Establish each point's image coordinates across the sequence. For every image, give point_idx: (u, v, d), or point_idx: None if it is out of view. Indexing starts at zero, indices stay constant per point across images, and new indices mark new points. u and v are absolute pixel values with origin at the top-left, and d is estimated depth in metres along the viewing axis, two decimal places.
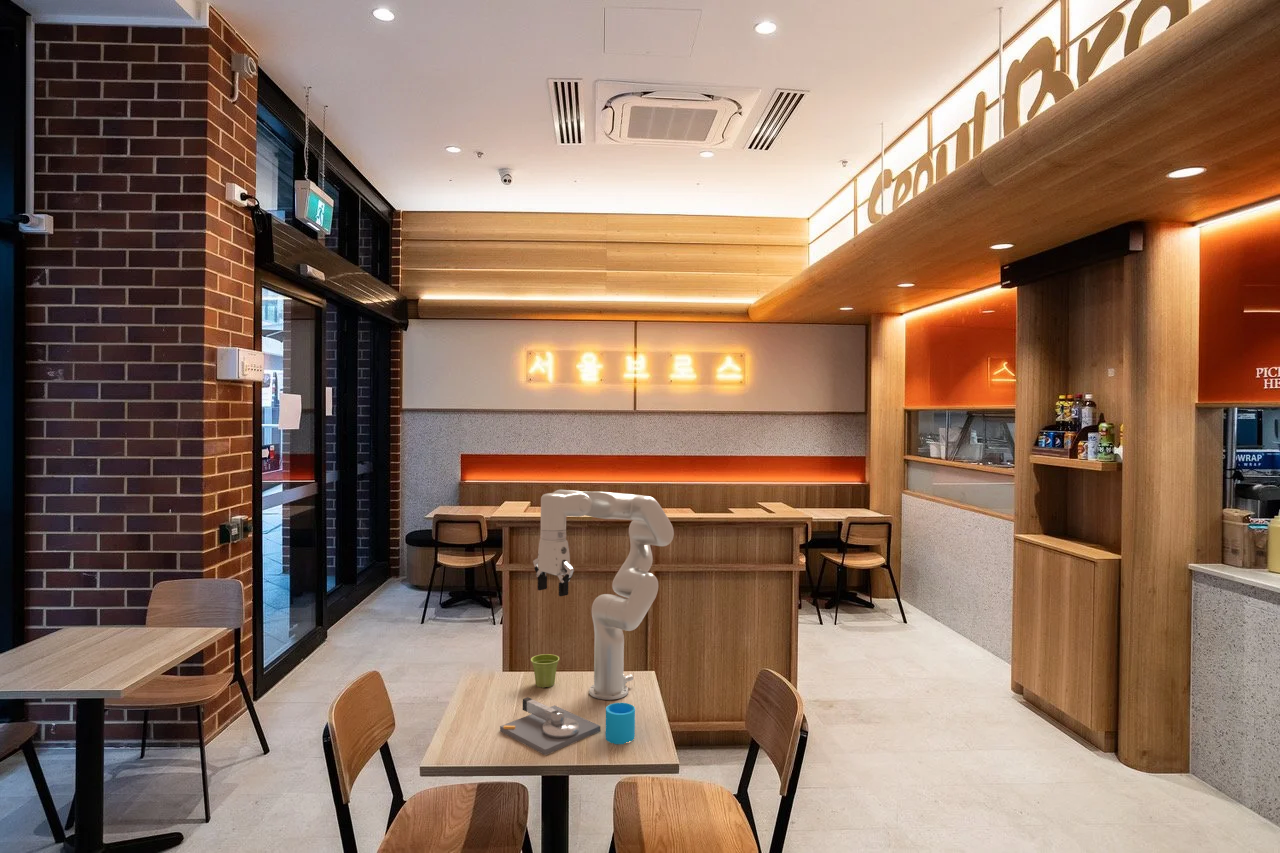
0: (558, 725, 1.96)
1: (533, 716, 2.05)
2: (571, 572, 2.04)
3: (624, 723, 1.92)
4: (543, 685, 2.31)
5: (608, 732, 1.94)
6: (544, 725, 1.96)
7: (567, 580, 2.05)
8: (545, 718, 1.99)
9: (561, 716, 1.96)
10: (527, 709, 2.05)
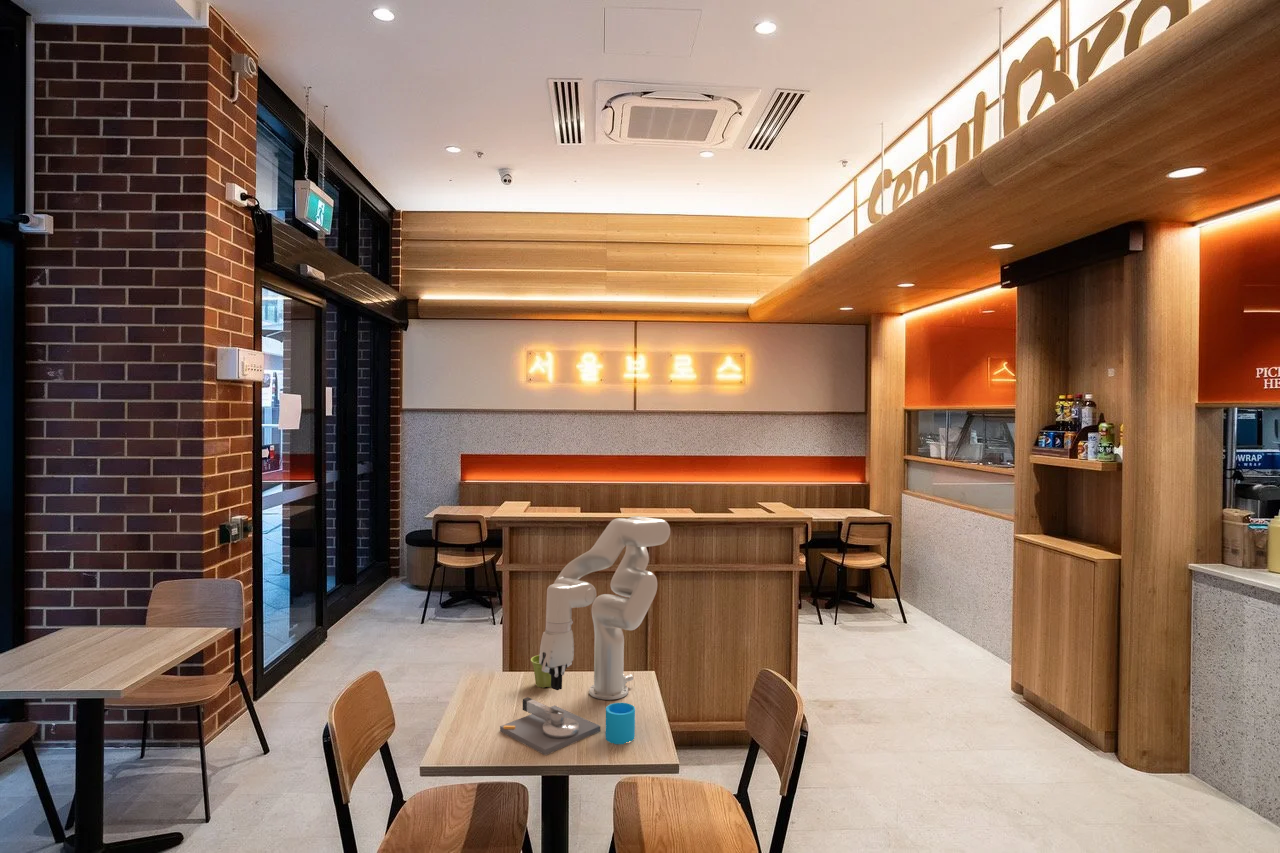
0: (558, 725, 1.96)
1: (533, 716, 2.05)
2: None
3: (624, 723, 1.92)
4: (543, 685, 2.31)
5: (608, 732, 1.94)
6: (544, 725, 1.96)
7: None
8: (545, 718, 1.99)
9: (561, 716, 1.96)
10: (527, 709, 2.05)
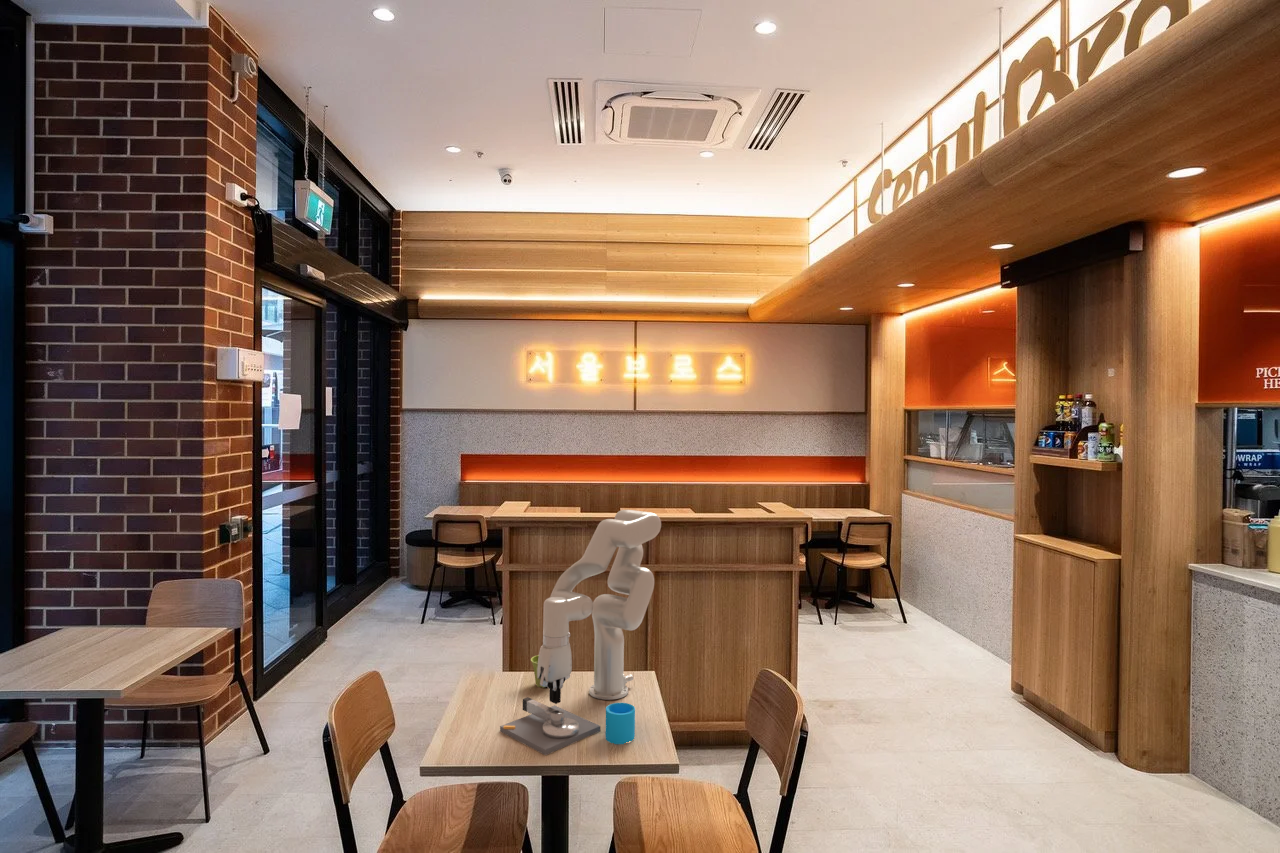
0: (558, 725, 1.96)
1: (533, 716, 2.05)
2: None
3: (624, 723, 1.92)
4: None
5: (608, 732, 1.94)
6: (544, 725, 1.96)
7: None
8: (545, 718, 1.99)
9: (561, 716, 1.96)
10: (527, 709, 2.05)
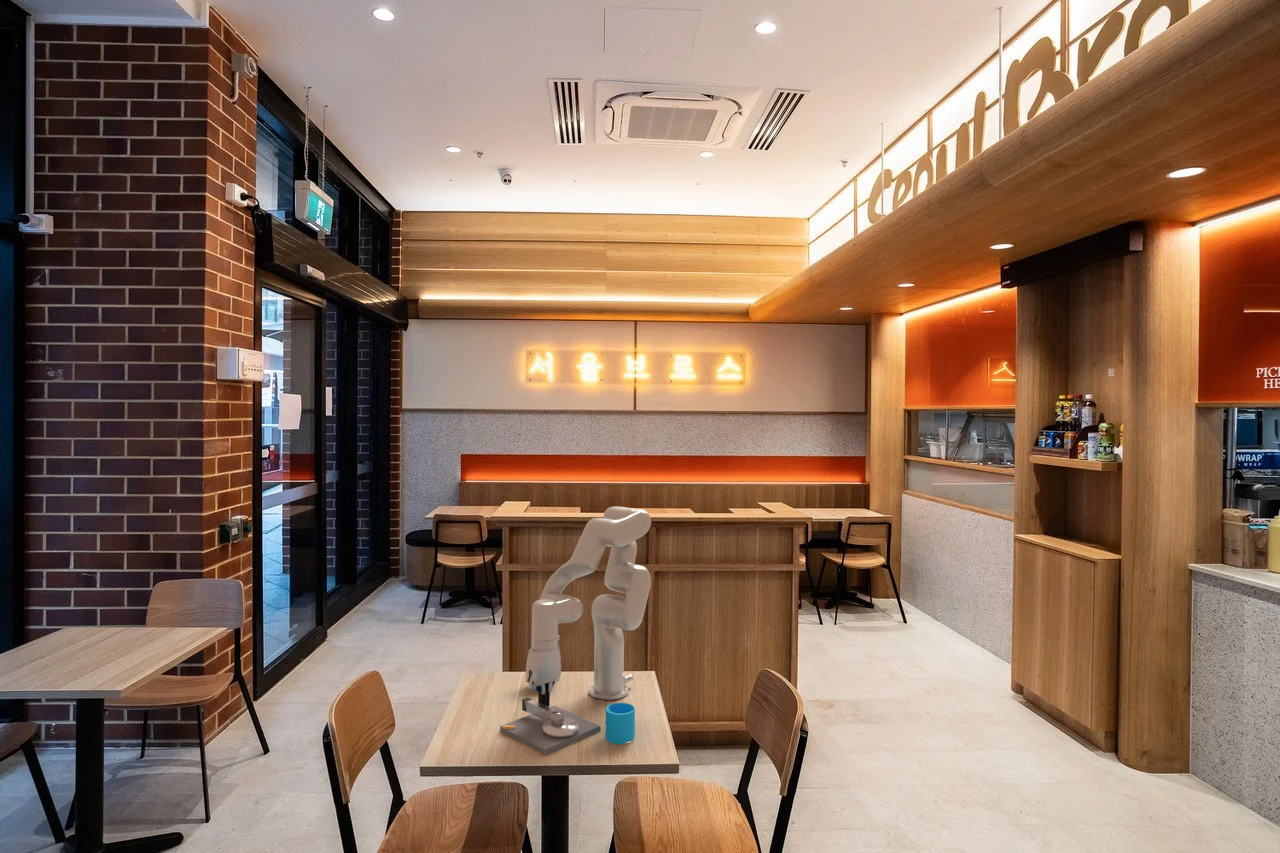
0: (558, 725, 1.96)
1: (533, 716, 2.05)
2: None
3: (624, 723, 1.92)
4: None
5: (608, 732, 1.94)
6: (544, 725, 1.96)
7: None
8: (545, 718, 1.99)
9: (561, 716, 1.96)
10: (527, 709, 2.05)
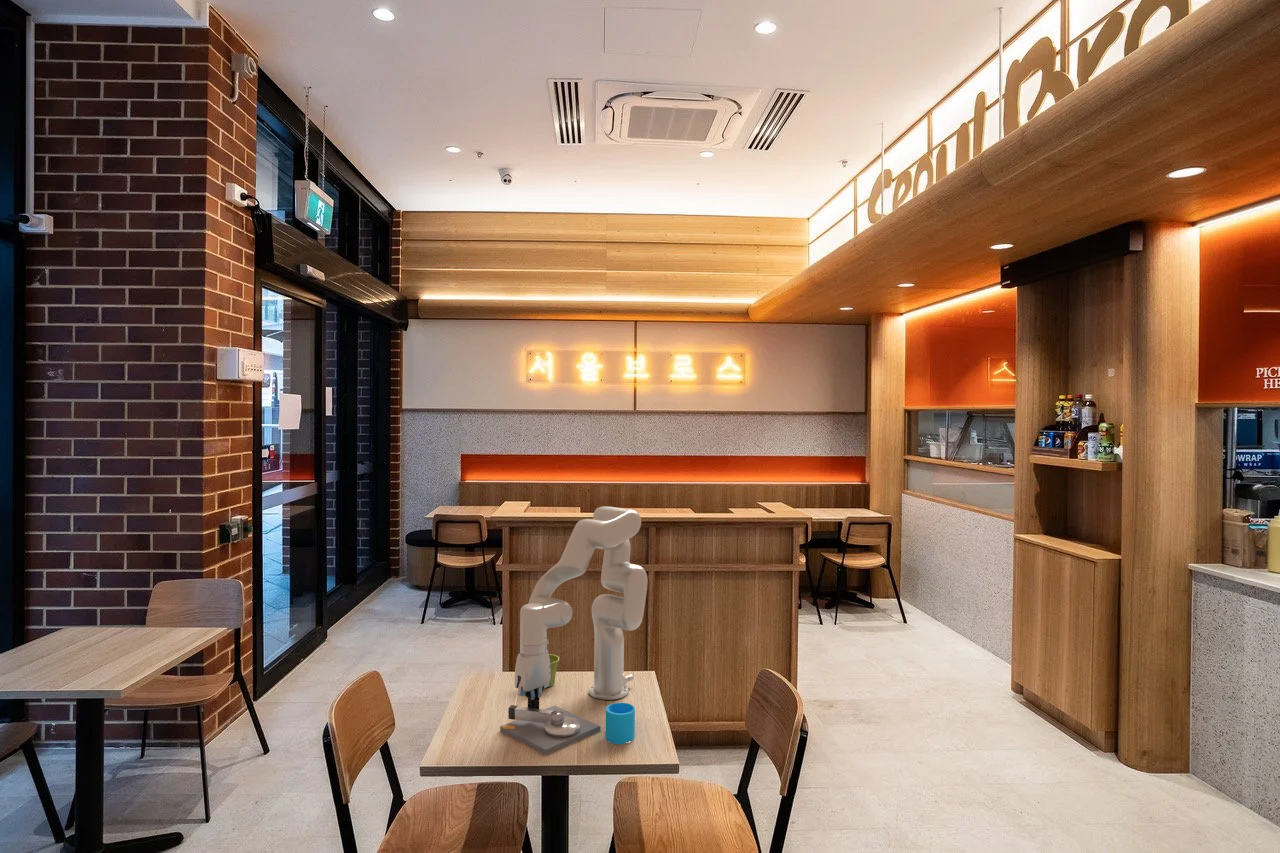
0: (561, 724, 1.96)
1: None
2: None
3: (624, 723, 1.92)
4: None
5: (608, 732, 1.94)
6: (547, 727, 1.95)
7: None
8: (542, 721, 1.97)
9: (563, 715, 1.97)
10: (516, 717, 2.00)
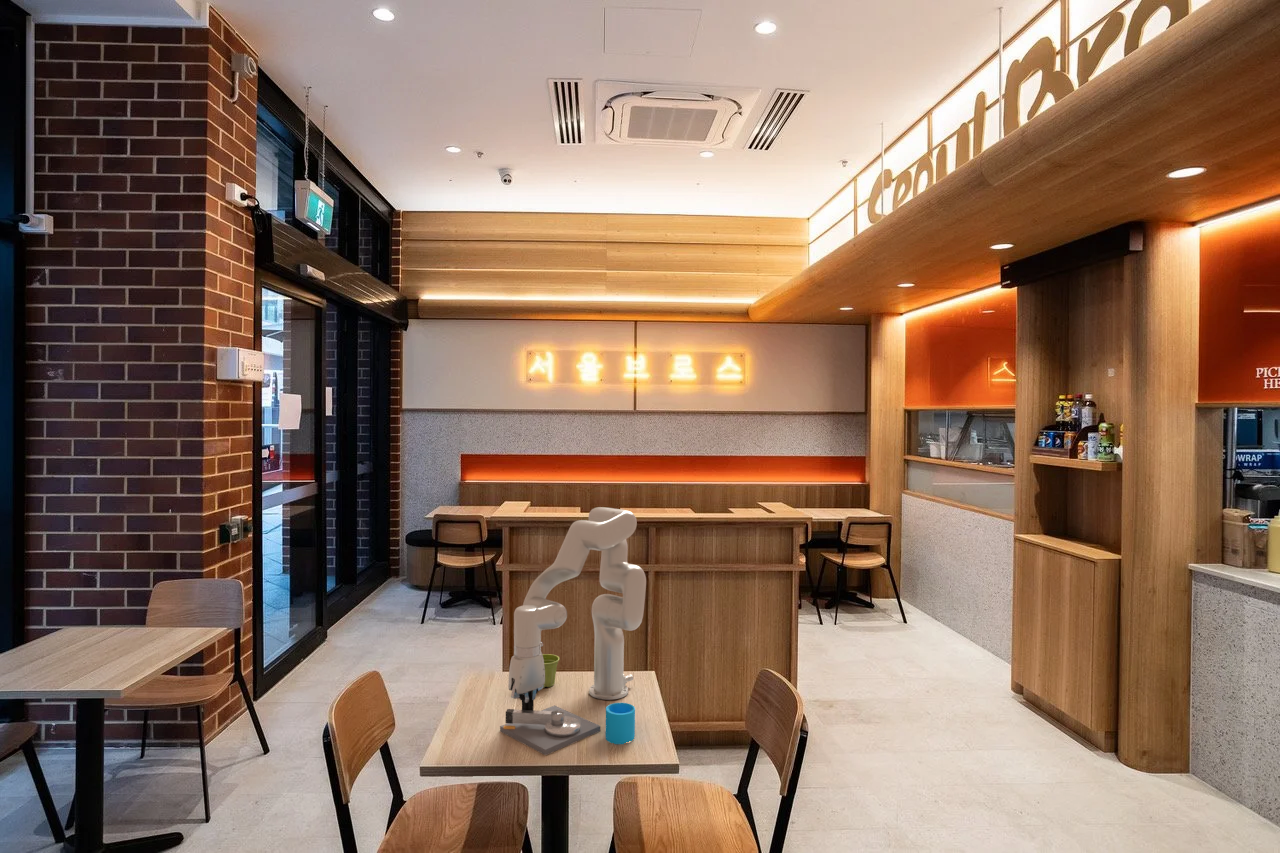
0: (562, 724, 1.96)
1: None
2: None
3: (624, 723, 1.92)
4: (543, 685, 2.31)
5: (608, 732, 1.94)
6: (549, 728, 1.94)
7: None
8: (542, 722, 1.97)
9: (563, 714, 1.97)
10: (513, 720, 1.97)
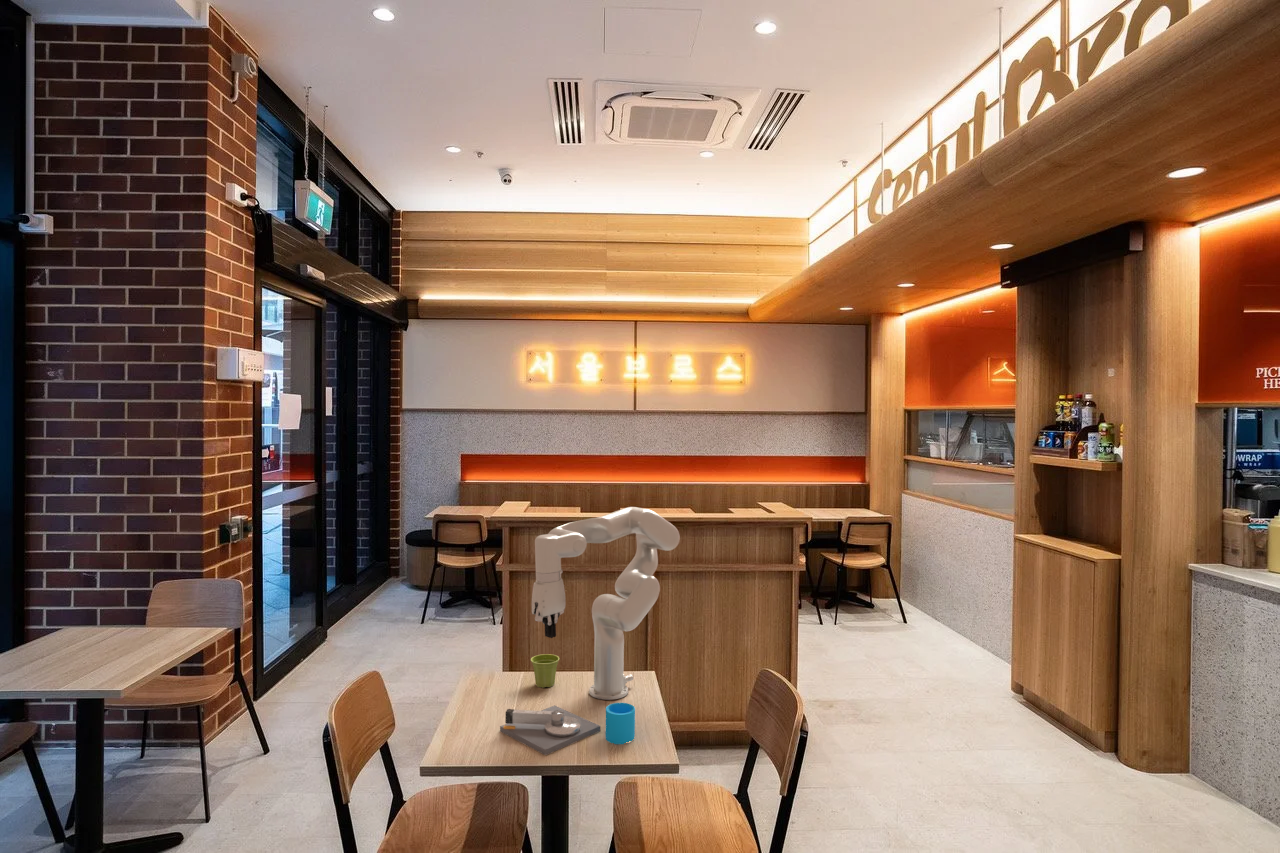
0: (562, 724, 1.96)
1: None
2: None
3: (624, 723, 1.92)
4: (543, 685, 2.31)
5: (608, 732, 1.94)
6: (549, 728, 1.94)
7: None
8: (542, 722, 1.97)
9: (563, 714, 1.97)
10: (513, 720, 1.97)
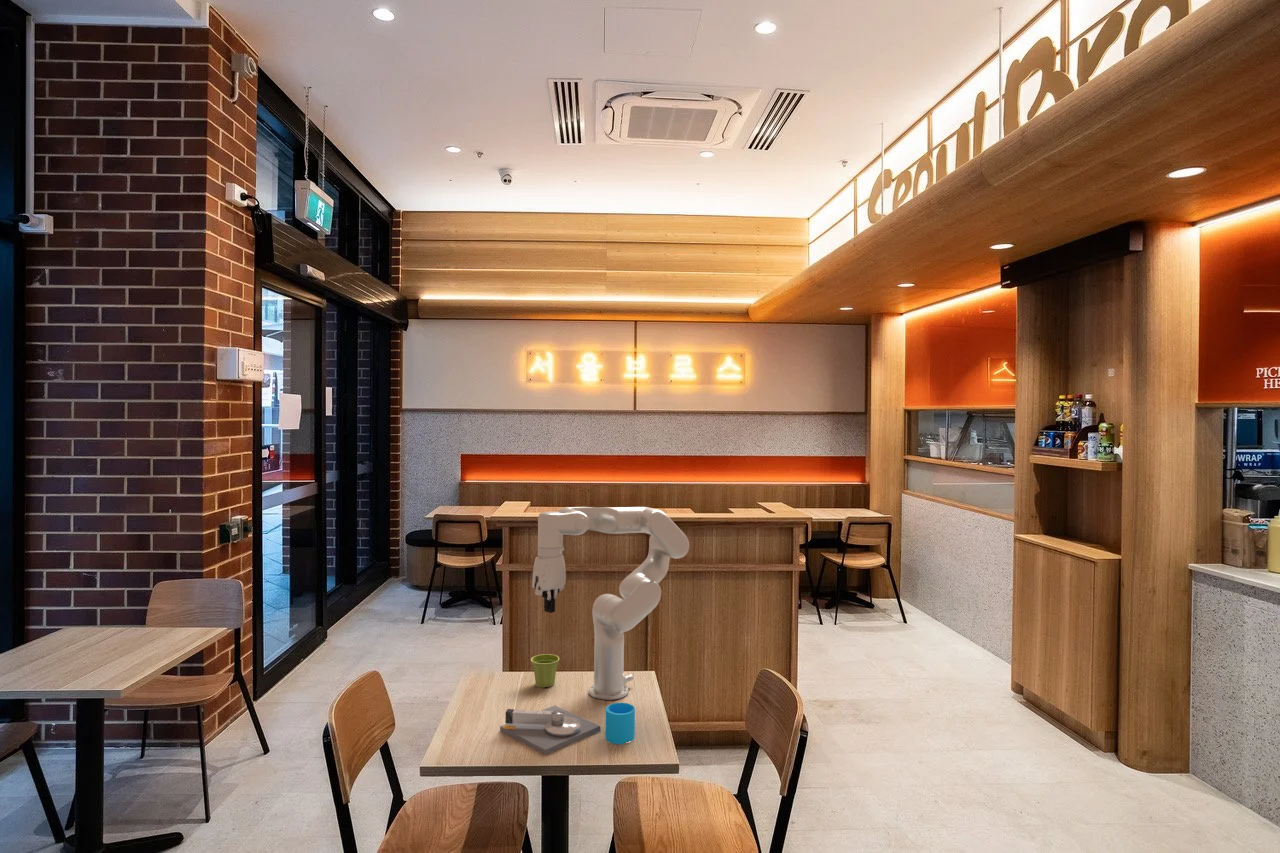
0: (562, 724, 1.96)
1: None
2: None
3: (624, 723, 1.92)
4: (543, 685, 2.31)
5: (608, 732, 1.94)
6: (549, 728, 1.94)
7: None
8: (542, 722, 1.97)
9: (563, 714, 1.97)
10: (513, 720, 1.97)
